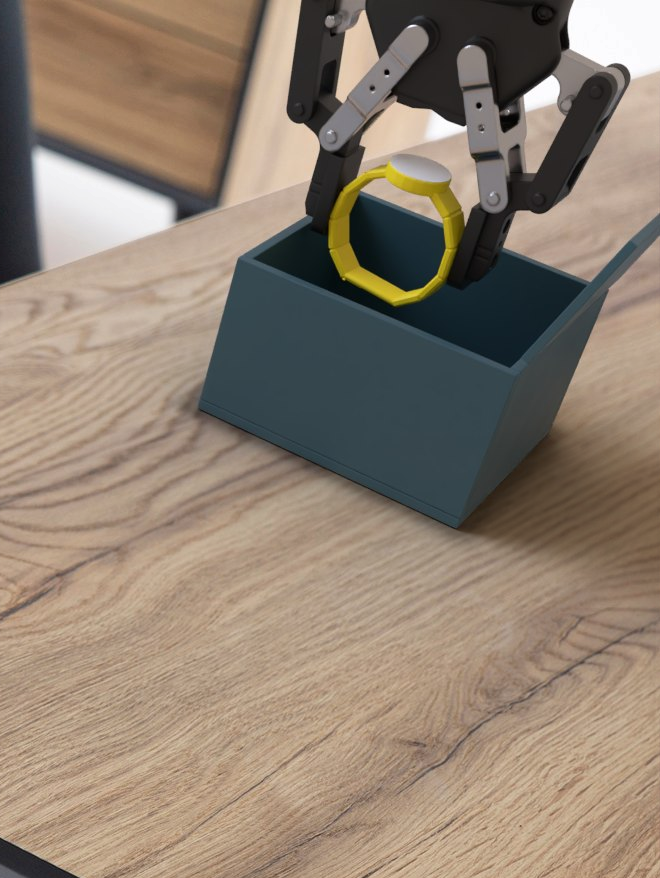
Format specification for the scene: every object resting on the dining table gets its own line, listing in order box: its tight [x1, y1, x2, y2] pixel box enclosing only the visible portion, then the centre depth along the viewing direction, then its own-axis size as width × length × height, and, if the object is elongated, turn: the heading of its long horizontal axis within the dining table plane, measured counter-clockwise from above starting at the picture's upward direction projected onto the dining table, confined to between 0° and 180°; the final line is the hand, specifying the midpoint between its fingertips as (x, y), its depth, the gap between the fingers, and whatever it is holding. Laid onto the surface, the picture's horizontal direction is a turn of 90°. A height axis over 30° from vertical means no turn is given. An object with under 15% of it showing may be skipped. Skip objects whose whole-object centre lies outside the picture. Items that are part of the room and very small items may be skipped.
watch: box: [328, 153, 466, 307], centre depth 76 cm, size 6×3×6 cm, turn 51°
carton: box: [197, 190, 610, 529], centre depth 79 cm, size 13×12×8 cm
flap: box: [521, 212, 660, 364], centre depth 71 cm, size 6×12×1 cm
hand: (391, 254), depth 77 cm, fingers closed on watch, 6 cm apart
